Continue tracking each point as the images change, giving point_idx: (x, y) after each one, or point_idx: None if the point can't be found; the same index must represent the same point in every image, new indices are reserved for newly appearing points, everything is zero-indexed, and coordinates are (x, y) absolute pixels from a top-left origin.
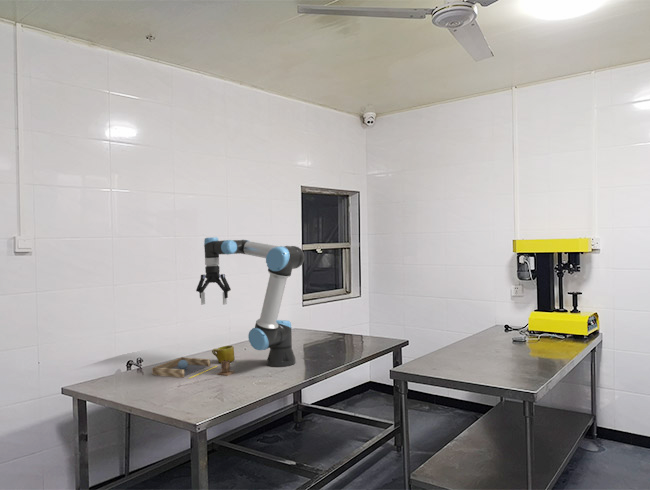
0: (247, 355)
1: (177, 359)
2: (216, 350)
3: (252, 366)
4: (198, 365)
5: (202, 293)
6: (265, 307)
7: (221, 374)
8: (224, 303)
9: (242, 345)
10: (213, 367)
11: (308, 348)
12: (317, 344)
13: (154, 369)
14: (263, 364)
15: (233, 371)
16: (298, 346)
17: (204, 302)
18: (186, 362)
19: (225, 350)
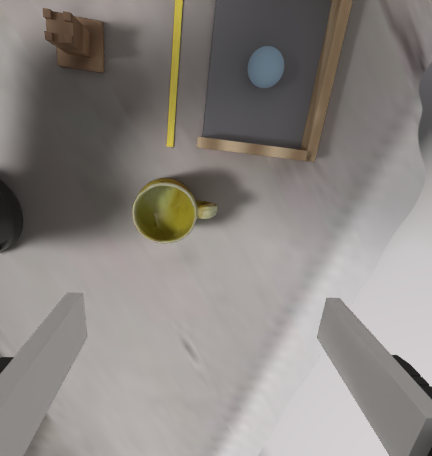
0: (142, 285)
1: (314, 128)
2: (190, 193)
3: (47, 160)
4: (233, 135)
5: (409, 415)
6: None
7: (83, 19)
8: (62, 305)
9: (217, 380)
10: (170, 122)
11: None
12: None
13: None
14: (25, 190)
15: (57, 59)
16: None
17: (326, 341)
18: (252, 65)
19: (147, 185)
